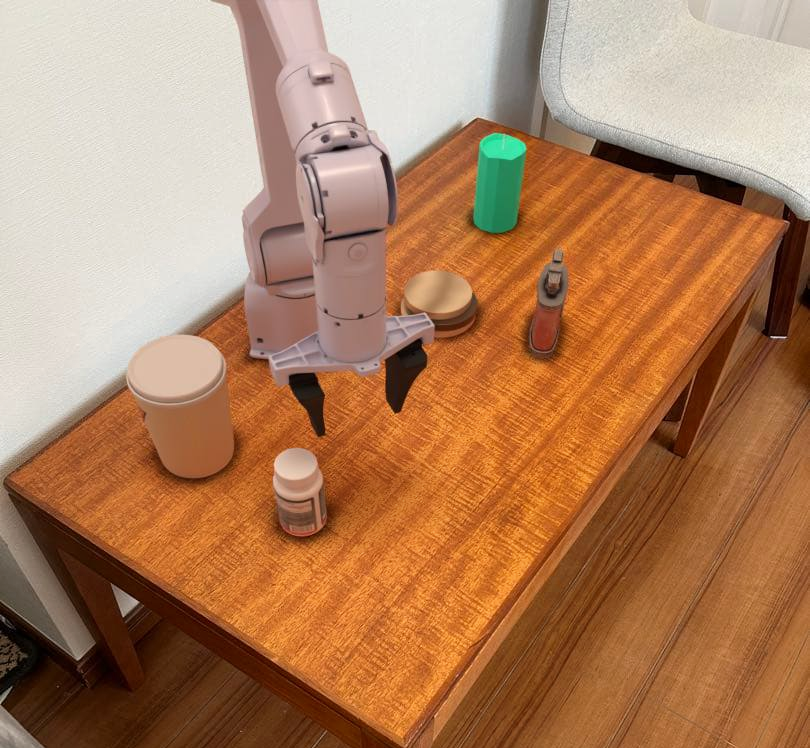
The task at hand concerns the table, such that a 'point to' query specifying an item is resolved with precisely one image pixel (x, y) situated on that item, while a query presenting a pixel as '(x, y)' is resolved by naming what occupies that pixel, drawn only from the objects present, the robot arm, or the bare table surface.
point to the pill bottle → (299, 492)
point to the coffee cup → (184, 403)
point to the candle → (499, 182)
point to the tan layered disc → (441, 301)
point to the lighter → (549, 306)
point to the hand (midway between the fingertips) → (356, 417)
